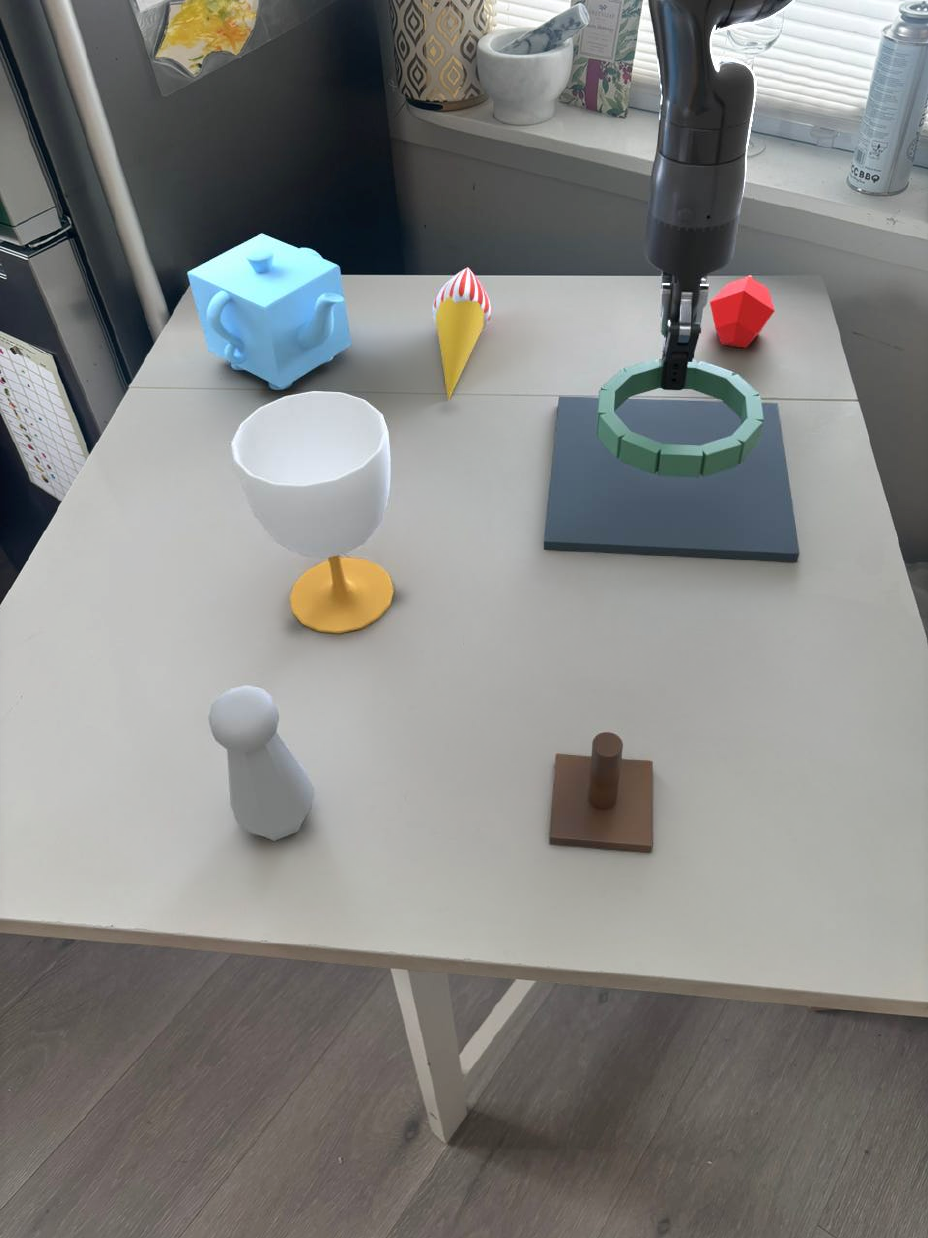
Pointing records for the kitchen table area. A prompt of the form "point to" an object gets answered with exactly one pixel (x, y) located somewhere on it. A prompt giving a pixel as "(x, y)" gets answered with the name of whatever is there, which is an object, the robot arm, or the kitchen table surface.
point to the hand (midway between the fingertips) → (672, 381)
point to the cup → (321, 499)
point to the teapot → (271, 309)
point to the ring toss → (603, 799)
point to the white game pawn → (260, 764)
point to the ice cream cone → (459, 322)
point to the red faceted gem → (741, 311)
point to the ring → (680, 456)
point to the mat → (668, 487)
